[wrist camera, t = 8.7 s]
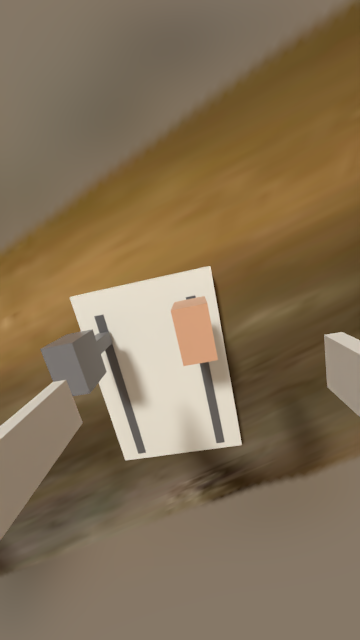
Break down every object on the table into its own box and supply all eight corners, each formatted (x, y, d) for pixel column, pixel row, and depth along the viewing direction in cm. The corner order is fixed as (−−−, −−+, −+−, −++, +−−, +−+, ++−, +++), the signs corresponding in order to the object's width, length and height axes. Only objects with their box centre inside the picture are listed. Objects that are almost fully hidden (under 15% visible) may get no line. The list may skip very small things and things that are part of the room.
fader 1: (100, 357, 29) (59, 398, 20) (88, 322, 27) (40, 349, 19) (121, 353, 28) (89, 393, 20) (110, 317, 27) (71, 342, 18)
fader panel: (130, 444, 36) (125, 460, 33) (81, 294, 30) (69, 297, 27) (237, 429, 34) (242, 445, 31) (208, 266, 28) (210, 266, 25)
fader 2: (186, 333, 27) (183, 366, 18) (177, 295, 26) (170, 310, 17) (209, 329, 27) (217, 360, 18) (201, 290, 26) (207, 303, 17)
